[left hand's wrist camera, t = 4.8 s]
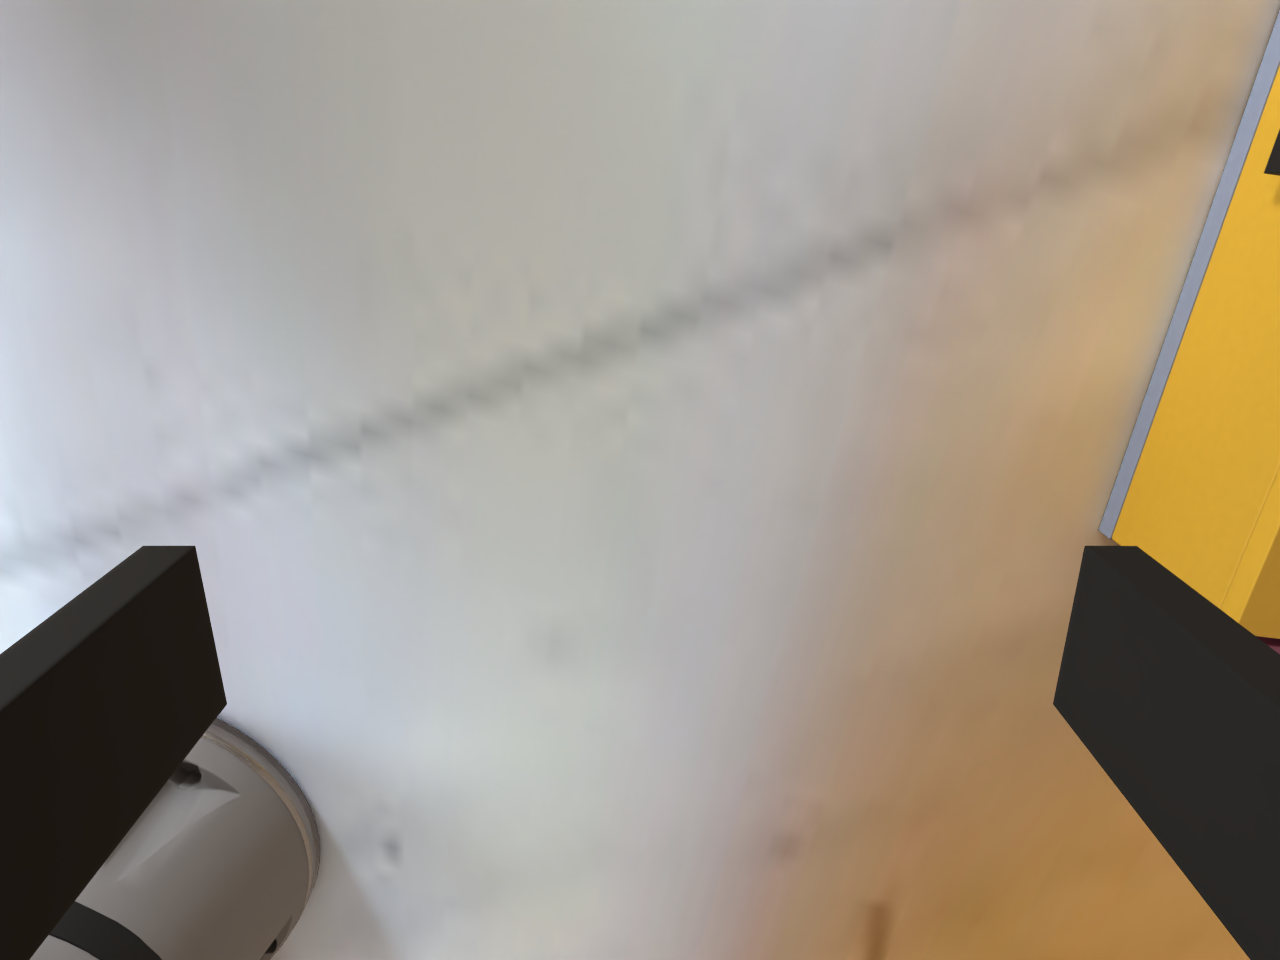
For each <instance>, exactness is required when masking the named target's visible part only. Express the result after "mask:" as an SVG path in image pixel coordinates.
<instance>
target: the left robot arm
mask: <svg viewBox="0 0 1280 960" xmlns="http://www.w3.org/2000/svg"><path fill="white" fill-rule="evenodd" d="M226 705H227V702H226V697H225V692H224V687H223V682H222V677H221V672H220V667H219V662H218V657H217V652H216V647H215V642H214V637H213V632H212V627H211V622H210V617H209V612H208V607H207V602H206V597H205V592H204V588H203V583H202V578H201V573H200V568H199V563H198V558H197V553H196V548H195V546H142V547H141V548H140V549H139V550H137V551H136V552H135V553H133V554H132V555H131V556H129V557H128V558H127V559H125V560H124V561H123V562H121V563H120V564H119V565H117V566H116V567H115V568H113V569H112V570H111V571H110V572H108V573H107V574H106V575H104V576H103V577H102V578H100V579H99V580H98V581H96V582H95V583H94V584H92V585H91V586H90V587H88V588H87V589H86V590H85V591H83V592H82V593H81V594H79V595H78V596H77V597H75V598H74V599H73V600H71V601H70V602H69V603H67V604H66V605H65V606H63V607H62V608H61V609H59V610H58V611H57V612H56V613H54V614H53V615H52V616H50V617H49V618H48V619H46V620H45V621H44V622H42V623H41V624H40V625H38V626H37V627H36V628H34V629H33V630H32V631H30V632H29V633H28V634H27V635H25V636H24V637H23V638H21V639H20V640H19V641H17V642H16V643H15V644H13V645H12V646H11V647H9V648H8V649H7V650H5V651H4V652H3V653H2V654H0V960H270V959H271V957H272V956H273V955H274V954H275V953H276V952H277V951H278V950H279V948H280V947H281V946H282V944H283V943H284V942H285V940H286V939H287V937H288V936H289V934H290V932H291V931H292V929H293V928H294V926H295V925H296V923H297V921H298V920H299V918H300V916H301V914H302V912H303V909H304V907H305V905H306V903H307V900H308V898H309V896H310V894H311V892H312V889H313V887H314V884H315V881H316V878H317V874H318V869H319V863H320V844H319V835H318V831H317V826H316V822H315V819H314V817H313V814H312V811H311V809H310V806H309V804H308V802H307V800H306V798H305V796H304V795H303V793H302V791H301V790H300V788H299V786H298V785H297V783H296V782H295V781H294V779H293V778H292V777H291V775H290V774H289V773H288V772H287V771H286V769H285V768H284V767H283V766H282V765H281V764H280V763H279V762H278V761H277V760H276V759H275V758H274V757H273V756H272V755H271V754H270V753H269V752H268V751H267V750H266V749H264V748H263V747H262V746H260V745H259V744H258V743H257V742H255V741H254V740H253V739H251V738H250V737H248V736H247V735H245V734H244V733H242V732H241V731H239V730H238V729H236V728H234V727H232V726H231V725H229V724H227V723H225V722H223V721H221V720H219V719H217V718H216V717H217V716H218V715H219V714H220V712H221V711H222V710H223V708H224V707H225V706H226ZM1053 705H1054V706H1055V707H1056V708H1057V710H1058V711H1059V712H1060V714H1061V715H1062V716H1063V717H1064V719H1065V720H1066V721H1067V723H1068V724H1069V725H1070V727H1071V728H1072V729H1073V730H1074V732H1075V733H1076V734H1077V736H1078V737H1079V738H1080V740H1081V741H1082V742H1083V743H1084V745H1085V746H1086V747H1087V749H1088V750H1089V751H1090V752H1091V754H1092V755H1093V756H1094V758H1095V759H1096V760H1097V762H1098V763H1099V764H1100V765H1101V767H1102V768H1103V769H1104V771H1105V772H1106V773H1107V774H1108V776H1109V777H1110V778H1111V780H1112V781H1113V782H1114V784H1115V785H1116V786H1117V787H1118V789H1119V790H1120V791H1121V793H1122V794H1123V795H1124V797H1125V798H1126V799H1127V800H1128V802H1129V803H1130V804H1131V806H1132V807H1133V808H1134V809H1135V811H1136V812H1137V813H1138V815H1139V816H1140V817H1141V819H1142V820H1143V821H1144V822H1145V824H1146V825H1147V826H1148V828H1149V829H1150V830H1151V831H1152V833H1153V834H1154V835H1155V837H1156V838H1157V839H1158V841H1159V842H1160V843H1161V844H1162V846H1163V847H1164V848H1165V850H1166V851H1167V852H1168V854H1169V855H1170V856H1171V857H1172V859H1173V860H1174V861H1175V863H1176V864H1177V865H1178V866H1179V868H1180V869H1181V870H1182V872H1183V873H1184V874H1185V876H1186V877H1187V878H1188V879H1189V881H1190V882H1191V883H1192V885H1193V886H1194V887H1195V888H1196V890H1197V891H1198V892H1199V894H1200V895H1201V896H1202V898H1203V899H1204V900H1205V901H1206V903H1207V904H1208V905H1209V907H1210V908H1211V909H1212V911H1213V912H1214V913H1215V914H1216V916H1217V917H1218V918H1219V920H1220V921H1221V922H1222V923H1223V925H1224V926H1225V927H1226V929H1227V930H1228V931H1229V933H1230V934H1231V935H1232V936H1233V938H1234V939H1235V940H1236V942H1237V943H1238V944H1239V945H1240V947H1241V948H1242V949H1243V951H1244V952H1245V953H1246V955H1247V956H1248V957H1249V958H1250V960H1280V654H1278V653H1277V652H1276V651H1275V650H1273V649H1272V648H1271V647H1269V646H1268V645H1267V644H1265V643H1264V642H1263V641H1261V640H1260V639H1259V638H1257V637H1256V636H1255V635H1253V634H1252V633H1251V632H1250V631H1248V630H1247V629H1246V628H1244V627H1243V626H1242V625H1240V624H1239V623H1238V622H1236V621H1235V620H1234V619H1232V618H1231V617H1230V616H1228V615H1227V614H1226V613H1224V612H1223V611H1222V610H1221V609H1219V608H1218V607H1217V606H1215V605H1214V604H1213V603H1211V602H1210V601H1209V600H1207V599H1206V598H1205V597H1203V596H1202V595H1201V594H1199V593H1198V592H1197V591H1195V590H1194V589H1193V588H1192V587H1190V586H1189V585H1188V584H1186V583H1185V582H1184V581H1182V580H1181V579H1180V578H1178V577H1177V576H1176V575H1174V574H1173V573H1172V572H1170V571H1169V570H1168V569H1167V568H1165V567H1164V566H1163V565H1161V564H1160V563H1159V562H1157V561H1156V560H1155V559H1153V558H1152V557H1151V556H1149V555H1148V554H1147V553H1145V552H1144V551H1143V550H1141V549H1140V548H1139V547H1138V546H1085V548H1084V553H1083V558H1082V563H1081V568H1080V573H1079V578H1078V583H1077V588H1076V592H1075V597H1074V602H1073V607H1072V612H1071V617H1070V622H1069V627H1068V632H1067V637H1066V642H1065V647H1064V652H1063V657H1062V662H1061V667H1060V672H1059V677H1058V682H1057V687H1056V692H1055V697H1054V702H1053Z"/></svg>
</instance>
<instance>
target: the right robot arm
mask: <svg viewBox="0 0 1280 960" xmlns="http://www.w3.org/2000/svg"><path fill="white" fill-rule="evenodd" d="M1264 174H1271V175H1278V176H1280V129H1279V132H1278V135H1277V138H1276V140H1275V143H1274V146H1273V149H1272V151H1271V154H1270V157H1269V160H1268V162H1267V165H1266V168H1265V171H1264Z"/></svg>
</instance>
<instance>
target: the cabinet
mask: <svg viewBox="0 0 1280 960" xmlns="http://www.w3.org/2000/svg"><path fill="white" fill-rule="evenodd" d="M1279 129H1280V11H1279V14H1278V16H1277V19H1276V22H1275V25H1274V28H1273V31H1272V34H1271V37H1270V39H1269V42H1268V45H1267V48H1266V51H1265V54H1264V57H1263V60H1262V62H1261V65H1260V68H1259V71H1258V74H1257V77H1256V80H1255V82H1254V85H1253V88H1252V91H1251V94H1250V97H1249V100H1248V103H1247V105H1246V108H1245V111H1244V114H1243V117H1242V120H1241V123H1240V126H1239V128H1238V131H1237V134H1236V137H1235V140H1234V143H1233V146H1232V148H1231V151H1230V154H1229V157H1228V160H1227V163H1226V166H1225V169H1224V171H1223V174H1222V177H1221V180H1220V183H1219V186H1218V189H1217V192H1216V194H1215V197H1214V200H1213V203H1212V206H1211V209H1210V212H1209V215H1208V217H1207V220H1206V223H1205V226H1204V229H1203V232H1202V235H1201V237H1200V240H1199V243H1198V246H1197V249H1196V252H1195V255H1194V258H1193V260H1192V263H1191V266H1190V269H1189V272H1188V275H1187V278H1186V281H1185V283H1184V286H1183V289H1182V292H1181V295H1180V298H1179V301H1178V303H1177V306H1176V309H1175V312H1174V315H1173V318H1172V321H1171V324H1170V326H1169V329H1168V332H1167V335H1166V338H1165V341H1164V344H1163V347H1162V349H1161V352H1160V355H1159V358H1158V361H1157V364H1156V367H1155V369H1154V372H1153V375H1152V378H1151V381H1150V384H1149V387H1148V390H1147V392H1146V395H1145V398H1144V401H1143V404H1142V407H1141V410H1140V413H1139V415H1138V418H1137V421H1136V424H1135V427H1134V430H1133V433H1132V435H1131V438H1130V441H1129V444H1128V447H1127V450H1126V453H1125V456H1124V458H1123V461H1122V464H1121V467H1120V470H1119V473H1118V476H1117V479H1116V481H1115V484H1114V487H1113V490H1112V493H1111V496H1110V499H1109V501H1108V504H1107V507H1106V510H1105V513H1104V516H1103V519H1102V522H1101V524H1100V527H1099V531H1100V532H1101V533H1103V534H1104V535H1105V536H1107V537H1108V538H1109V539H1112V540H1114V541H1115V542H1116V543H1118V544H1119V545H1120V546H1138V547H1139V548H1140V549H1141V550H1143V551H1144V552H1145V553H1147V554H1148V555H1149V556H1151V557H1152V558H1153V559H1155V560H1156V561H1157V562H1159V563H1160V564H1161V565H1163V566H1164V567H1165V568H1167V569H1168V570H1169V571H1170V572H1172V573H1173V574H1174V575H1176V576H1177V577H1178V578H1180V579H1181V580H1182V581H1184V582H1185V583H1186V584H1188V585H1189V586H1190V587H1192V588H1193V589H1194V590H1195V591H1197V592H1198V593H1199V594H1201V595H1202V596H1203V597H1205V598H1206V599H1207V600H1209V601H1210V602H1211V603H1213V604H1214V605H1215V606H1217V607H1218V608H1219V609H1221V610H1222V611H1223V612H1224V613H1226V614H1227V615H1228V616H1230V617H1231V618H1232V619H1234V620H1235V621H1236V622H1238V623H1239V624H1240V625H1242V626H1243V627H1244V628H1246V629H1247V630H1248V631H1250V632H1251V633H1252V634H1253V635H1255V636H1259V637H1268V638H1277V639H1280V176H1278V175H1271V174H1264V171H1265V168H1266V165H1267V162H1268V160H1269V157H1270V154H1271V151H1272V149H1273V146H1274V143H1275V140H1276V138H1277V135H1278V132H1279Z"/></svg>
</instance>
